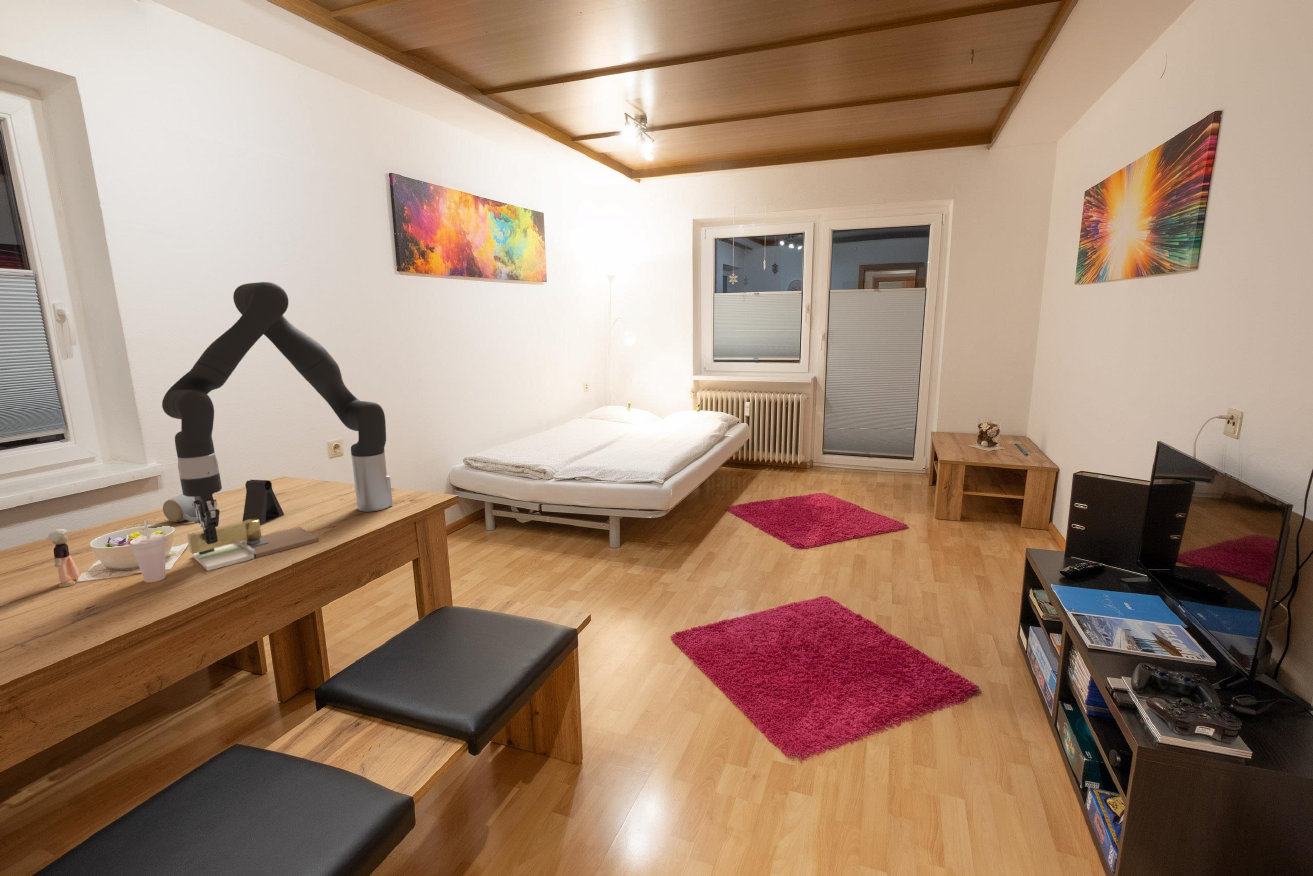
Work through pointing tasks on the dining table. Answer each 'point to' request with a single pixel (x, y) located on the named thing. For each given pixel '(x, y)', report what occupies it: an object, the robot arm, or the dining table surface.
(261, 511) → the phone stand
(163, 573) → the smoothie
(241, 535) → the swing bar
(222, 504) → the dining table surface
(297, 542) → the door mockup
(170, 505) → the ceramic mug
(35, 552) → the dining table surface
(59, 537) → the grandmother figurine
